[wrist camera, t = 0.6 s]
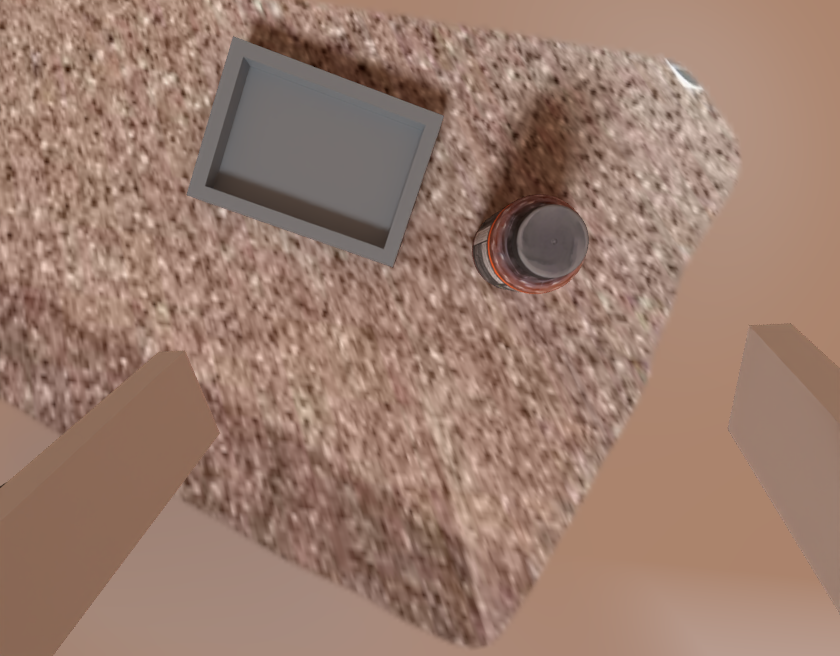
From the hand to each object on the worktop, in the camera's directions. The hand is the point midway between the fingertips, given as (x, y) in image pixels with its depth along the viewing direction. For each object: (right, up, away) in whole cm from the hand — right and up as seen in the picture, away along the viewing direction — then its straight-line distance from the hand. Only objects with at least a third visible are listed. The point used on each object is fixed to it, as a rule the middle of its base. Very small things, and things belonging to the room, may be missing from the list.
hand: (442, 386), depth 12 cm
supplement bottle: (+6, +7, +26) cm, 28 cm away
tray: (-8, +14, +24) cm, 29 cm away
